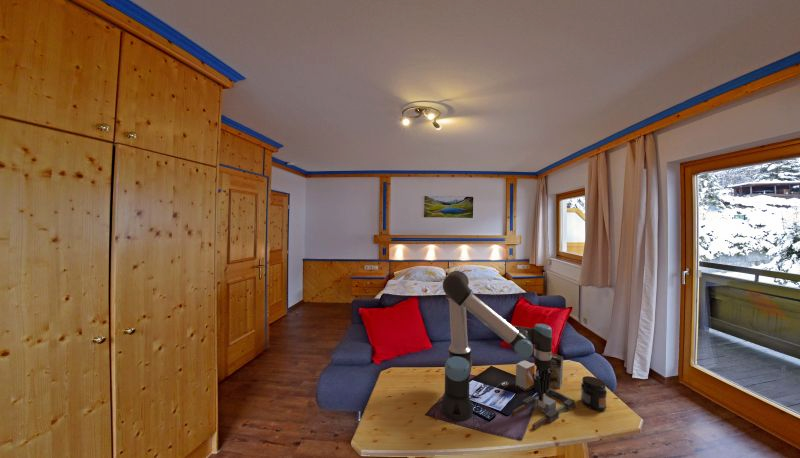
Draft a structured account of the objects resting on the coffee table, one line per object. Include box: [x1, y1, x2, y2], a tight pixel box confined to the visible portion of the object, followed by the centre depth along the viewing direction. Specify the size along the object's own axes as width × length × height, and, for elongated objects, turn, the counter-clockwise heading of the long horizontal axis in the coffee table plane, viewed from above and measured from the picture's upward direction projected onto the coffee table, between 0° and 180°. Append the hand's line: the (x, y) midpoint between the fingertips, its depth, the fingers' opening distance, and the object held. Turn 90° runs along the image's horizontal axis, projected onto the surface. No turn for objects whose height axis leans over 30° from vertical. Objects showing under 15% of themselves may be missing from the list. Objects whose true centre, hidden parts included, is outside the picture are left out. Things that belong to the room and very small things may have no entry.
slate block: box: [536, 396, 557, 414], centre depth 135 cm, size 6×6×4 cm
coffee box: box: [549, 353, 564, 390], centre depth 157 cm, size 9×6×16 cm
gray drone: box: [511, 387, 576, 431], centre depth 134 cm, size 14×32×3 cm, turn 123°
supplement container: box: [580, 375, 608, 411], centre depth 139 cm, size 10×10×12 cm
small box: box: [515, 360, 536, 389], centre depth 153 cm, size 8×6×13 cm
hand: (541, 406), depth 133 cm, fingers closed
